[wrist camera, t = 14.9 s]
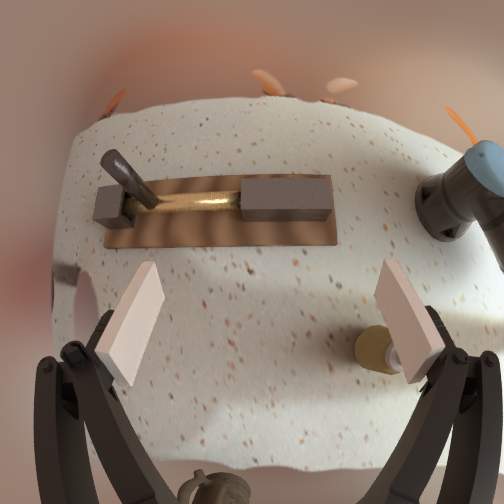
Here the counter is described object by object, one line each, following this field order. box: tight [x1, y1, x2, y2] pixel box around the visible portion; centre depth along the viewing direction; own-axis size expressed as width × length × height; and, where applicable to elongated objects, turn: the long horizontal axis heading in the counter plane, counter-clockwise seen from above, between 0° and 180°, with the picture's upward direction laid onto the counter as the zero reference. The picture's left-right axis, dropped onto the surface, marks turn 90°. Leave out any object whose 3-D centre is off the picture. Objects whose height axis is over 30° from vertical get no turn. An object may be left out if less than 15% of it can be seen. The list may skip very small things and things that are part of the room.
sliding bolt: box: [100, 149, 241, 216], centre depth 40 cm, size 27×3×19 cm, turn 90°
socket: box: [93, 184, 136, 230], centre depth 48 cm, size 6×7×7 cm
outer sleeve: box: [241, 178, 333, 222], centre depth 47 cm, size 15×6×6 cm, turn 90°
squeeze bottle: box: [354, 325, 404, 375], centre depth 36 cm, size 8×8×18 cm
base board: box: [104, 174, 338, 249], centre depth 51 cm, size 46×14×2 cm, turn 90°
